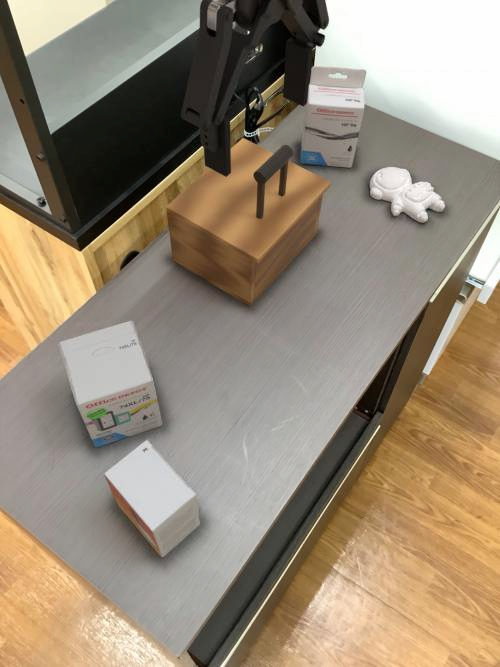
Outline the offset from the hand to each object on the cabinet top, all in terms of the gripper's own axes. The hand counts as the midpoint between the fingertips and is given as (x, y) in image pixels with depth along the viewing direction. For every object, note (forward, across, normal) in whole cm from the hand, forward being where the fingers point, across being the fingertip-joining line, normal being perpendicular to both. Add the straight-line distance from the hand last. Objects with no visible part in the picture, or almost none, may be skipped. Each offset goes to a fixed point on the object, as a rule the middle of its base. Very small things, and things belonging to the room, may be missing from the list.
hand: (258, 133), depth 65 cm
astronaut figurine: (+27, +28, -8) cm, 40 cm away
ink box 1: (+26, -25, +2) cm, 36 cm away
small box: (+26, -32, -10) cm, 43 cm away
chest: (+26, +5, +5) cm, 27 cm away
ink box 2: (+27, +29, +6) cm, 40 cm away
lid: (+16, +5, +5) cm, 18 cm away
